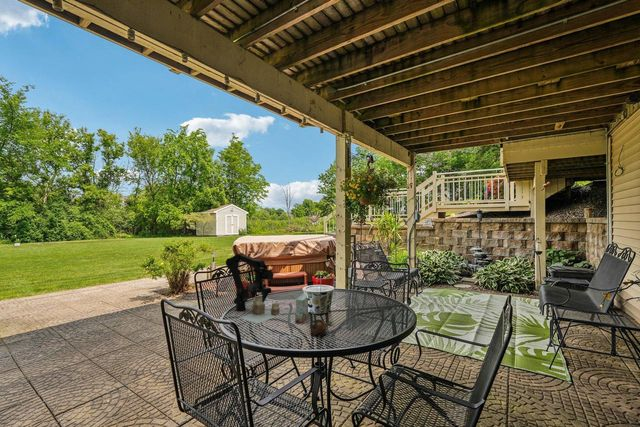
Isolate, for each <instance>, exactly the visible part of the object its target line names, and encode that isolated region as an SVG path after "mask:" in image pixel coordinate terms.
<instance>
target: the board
mask: <svg viewBox="0 0 640 427" xmlns="http://www.w3.org/2000/svg"><path fill="white" fill-rule="evenodd" d="M280 315H282V313H279V315H276V316H274V315H271V310H266V309H265V313H264V314H261V315H255V314H252V312H251V313H249V314H245V315H242V316H239V317H238V318H239V319H241V320H245V321H247V322H252V323H254V324H260V323H263V322H265V321H268V320H271V319H273V318H275V317H278V316H280Z"/></svg>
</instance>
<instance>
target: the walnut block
mask: <svg viewBox="0 0 640 427" xmlns="http://www.w3.org/2000/svg"><path fill="white" fill-rule="evenodd" d="M251 309H252V310H251V313H252V314H255V315H261V314H264V313H265V310H266V304H265V303H264V304H263V305H260V306H256V305H253V304H252V305H251Z"/></svg>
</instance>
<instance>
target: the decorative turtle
mask: <svg viewBox="0 0 640 427" xmlns="http://www.w3.org/2000/svg"><path fill="white" fill-rule="evenodd" d="M327 327H328V326H327V323H326V322H325V321H323V319H318V318H317V319H314V320H312V321H311V322H310V324H309V329H310V331H311V332H312V333H311V334H312V335H313V336H314V337H315V336H317V335H318V334H320V335H321V336H324V335H325V333H326V330H327Z"/></svg>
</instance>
